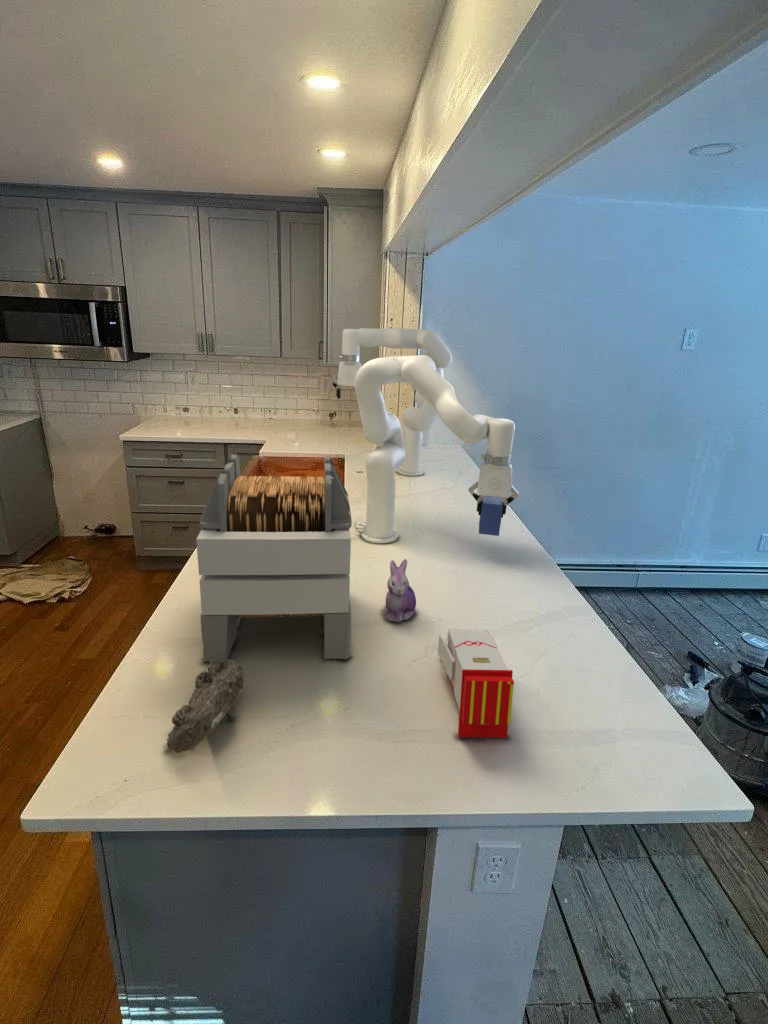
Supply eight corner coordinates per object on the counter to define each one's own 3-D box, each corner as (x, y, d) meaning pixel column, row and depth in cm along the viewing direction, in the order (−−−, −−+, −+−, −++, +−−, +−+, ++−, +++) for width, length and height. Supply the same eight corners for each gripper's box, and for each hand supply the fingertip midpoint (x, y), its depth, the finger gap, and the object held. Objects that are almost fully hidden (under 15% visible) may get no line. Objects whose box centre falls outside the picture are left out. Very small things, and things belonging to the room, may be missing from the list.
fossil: (192, 660, 117) (244, 628, 112) (224, 691, 120) (276, 661, 115) (142, 746, 98) (202, 712, 93) (182, 779, 101) (242, 748, 96)
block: (478, 533, 177) (482, 503, 173) (478, 523, 185) (482, 494, 182) (498, 536, 176) (503, 505, 173) (498, 526, 184) (502, 496, 181)
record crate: (225, 590, 155) (216, 445, 141) (344, 589, 159) (347, 447, 145) (201, 664, 123) (186, 485, 110) (351, 660, 127) (355, 487, 113)
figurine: (392, 627, 141) (395, 572, 136) (374, 608, 149) (376, 556, 144) (425, 619, 145) (429, 566, 140) (405, 601, 154) (408, 550, 149)
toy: (488, 613, 130) (523, 677, 101) (484, 667, 133) (517, 744, 104) (435, 612, 130) (455, 676, 101) (432, 666, 133) (451, 743, 103)
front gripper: (468, 460, 170) (462, 516, 177) (527, 465, 168) (519, 522, 174) (469, 454, 177) (463, 508, 184) (525, 459, 175) (517, 513, 181)
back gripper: (328, 358, 240) (328, 399, 246) (369, 360, 238) (367, 401, 244) (333, 357, 247) (332, 396, 253) (372, 359, 245) (370, 399, 251)
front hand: (490, 514), depth 179 cm, fingers closed on block, 6 cm apart
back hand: (349, 399), depth 249 cm, fingers open, 9 cm apart
